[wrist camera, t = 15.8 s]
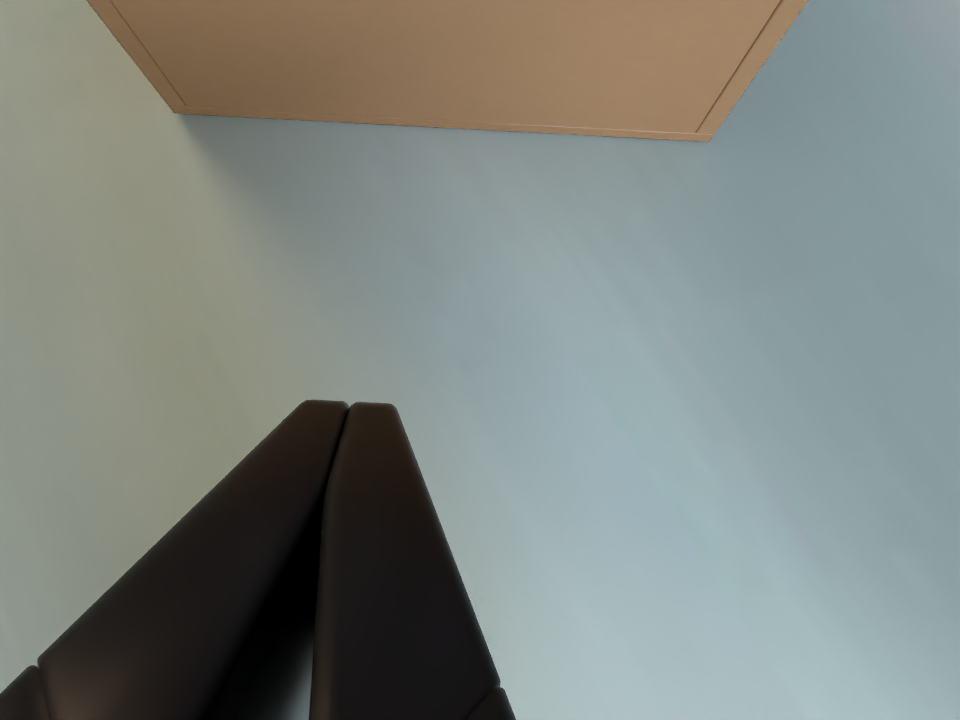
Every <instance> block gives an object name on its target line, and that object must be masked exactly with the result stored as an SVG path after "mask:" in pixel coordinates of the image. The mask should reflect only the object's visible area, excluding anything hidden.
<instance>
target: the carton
mask: <svg viewBox="0 0 960 720" xmlns="http://www.w3.org/2000/svg"><path fill="white" fill-rule="evenodd" d="M87 2H88V3H89V4H90V6H91V7H92V8H93V9H94V11H95V12H96V13H97V15H98V16H99V17H100V19H101V20H102V21H103V22H104V24H105V25H106V26H107V28H108V29H109V30H110V31H111V33H112V34H113V35H114V37H115V38H116V39H117V40H118V42H119V43H120V44H121V46H122V47H123V48H124V49H125V51H126V52H127V53H128V55H129V56H130V57H131V58H132V60H133V61H134V62H135V64H136V65H137V66H138V67H139V69H140V70H141V71H142V73H143V74H144V75H145V76H146V78H147V79H148V80H149V82H150V83H151V84H152V85H153V87H154V88H155V89H156V91H157V92H158V93H159V94H160V96H161V97H162V98H163V100H164V101H165V102H166V103H167V104H168V106H169V107H170V109H171V110H172V111H173V112H174V113H179V114H197V115H216V116H235V117H254V118H273V119H292V120H310V121H329V122H348V123H367V124H386V125H404V126H423V127H442V128H461V129H480V130H499V131H517V132H536V133H555V134H574V135H593V136H611V137H630V138H649V139H668V140H687V141H706V142H708V141H710V139H711V138H712V136H713V135H714V133H715V132H716V131H717V129H718V128H719V127H720V125H721V124H722V122H723V121H724V119H725V118H726V117H727V115H728V114H729V112H730V111H731V109H732V108H733V107H734V105H735V104H736V102H737V101H738V100H739V98H740V97H741V95H742V94H743V92H744V91H745V90H746V88H747V87H748V85H749V84H750V83H751V81H752V80H753V78H754V77H755V75H756V74H757V73H758V71H759V70H760V68H761V67H762V65H763V64H764V63H765V61H766V60H767V58H768V57H769V56H770V54H771V53H772V51H773V50H774V48H775V47H776V46H777V44H778V43H779V41H780V40H781V38H782V37H783V36H784V34H785V33H786V31H787V30H788V29H789V27H790V26H791V24H792V23H793V21H794V20H795V19H796V17H797V16H798V14H799V13H800V11H801V10H802V9H803V7H804V6H805V4H806V3H807V2H808V0H87Z"/></svg>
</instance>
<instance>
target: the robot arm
mask: <svg viewBox="0 0 960 720" xmlns="http://www.w3.org/2000/svg"><path fill="white" fill-rule="evenodd" d="M37 662H38V667H37V666H34V665H31V666H29V667H27V668H26V669H25V670H24V671H23V672H22V673H21V674H20V675H19V676H18V677H17V678H16V679H15V680H14V681H13V682H12V683H11V684H10V685H9V686H8V687H7V688H6V689H5V690H4V691H3V692H1V693H0V720H516V719H515V716H514V713H513V711H512V708H511V706H510V703H509V700H508V698H507V695H506V693H505V690H504V689H503V688H501V687H500V678H499V676H498V673H497V670H496V668H495V665H494V662H493V660H492V657H491V655H490V652H489V649H488V647H487V644H486V642H485V639H484V636H483V634H482V631H481V628H480V626H479V623H478V621H477V618H476V615H475V613H474V610H473V607H472V605H471V602H470V600H469V597H468V594H467V592H466V589H465V586H464V584H463V581H462V579H461V576H460V573H459V571H458V568H457V565H456V563H455V560H454V558H453V555H452V552H451V550H450V547H449V544H448V542H447V539H446V537H445V534H444V531H443V529H442V526H441V523H440V521H439V518H438V516H437V513H436V510H435V508H434V505H433V502H432V500H431V497H430V495H429V492H428V489H427V487H426V484H425V481H424V479H423V476H422V474H421V471H420V468H419V466H418V463H417V460H416V458H415V455H414V453H413V450H412V447H411V445H410V442H409V439H408V437H407V434H406V432H405V429H404V426H403V424H402V421H401V419H400V416H399V413H398V411H397V409H396V407H395V406H394V405H392V404H389V403H370V402H356V403H354V404H352V405H351V406H350V408H349V406H348V404H347V403H345V402H343V401H330V400H306V401H304V402H302V403H301V404H300V405H299V406H298V407H297V408H295V409H294V410H293V411H292V412H291V413H290V414H289V415H288V416H287V417H286V418H285V419H284V420H283V421H282V422H281V423H280V424H279V425H278V426H277V427H276V428H275V429H274V430H273V431H272V432H271V433H270V434H269V435H268V436H267V437H266V438H264V439H263V440H262V441H261V442H260V443H259V444H258V445H257V446H256V447H255V448H254V449H253V450H252V451H251V452H250V453H249V454H248V455H247V456H246V457H245V458H244V459H243V460H242V461H241V462H240V463H239V464H238V465H237V466H236V467H235V468H233V469H232V470H231V471H230V472H229V473H228V474H227V475H226V476H225V477H224V478H223V479H222V480H221V481H220V482H219V483H218V484H217V485H216V486H215V487H214V488H213V489H212V490H211V491H210V492H209V493H208V494H207V495H206V496H205V497H204V498H202V499H201V500H200V501H199V502H198V503H197V504H196V505H195V506H194V507H193V508H192V509H191V510H190V511H189V512H188V513H187V514H186V515H185V516H184V517H183V518H182V519H181V520H180V521H179V522H178V523H177V524H176V525H175V526H174V527H173V528H172V529H170V530H169V531H168V532H167V533H166V534H165V535H164V536H163V537H162V538H161V539H160V540H159V541H158V542H157V543H156V544H155V545H154V546H153V547H152V548H151V549H150V550H149V551H148V552H147V553H146V554H145V555H144V556H143V557H142V558H141V559H139V560H138V561H137V562H136V563H135V564H134V565H133V566H132V567H131V568H130V569H129V570H128V571H127V572H126V573H125V574H124V575H123V576H122V577H121V578H120V579H119V580H118V581H117V582H116V583H115V584H114V585H113V586H112V587H111V588H110V589H108V590H107V591H106V592H105V593H104V594H103V595H102V596H101V597H100V598H99V599H98V600H97V601H96V602H95V603H94V604H93V605H92V606H91V607H90V608H89V609H88V610H87V611H86V612H85V613H84V614H83V615H82V616H81V617H80V618H79V619H77V620H76V621H75V622H74V623H73V624H72V625H71V626H70V627H69V628H68V629H67V630H66V631H65V632H64V633H63V634H62V635H61V636H60V637H59V638H58V639H57V640H56V641H55V642H54V643H53V644H52V645H51V646H50V647H49V648H48V649H46V650H45V651H44V652H43V653H42V654H41V655H40V656H39V658H38V660H37Z"/></svg>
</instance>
